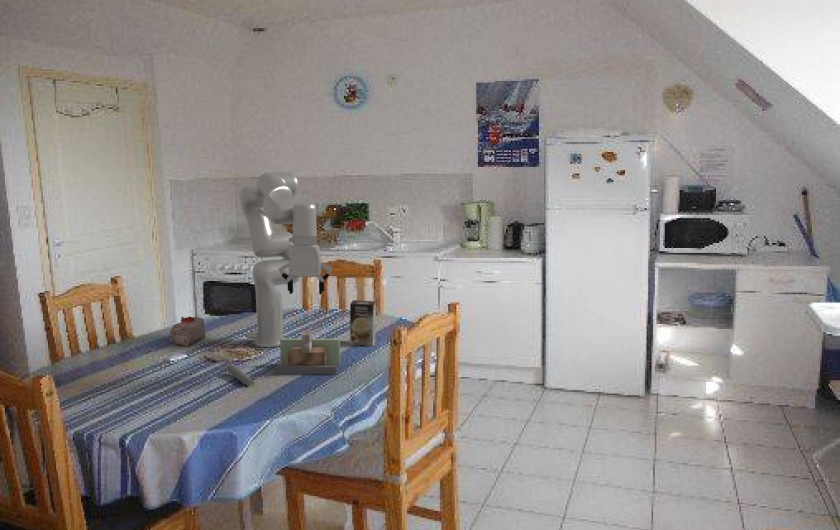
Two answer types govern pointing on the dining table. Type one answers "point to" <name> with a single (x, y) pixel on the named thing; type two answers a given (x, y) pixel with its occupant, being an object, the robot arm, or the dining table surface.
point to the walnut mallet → (307, 353)
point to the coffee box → (362, 323)
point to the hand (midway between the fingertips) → (306, 293)
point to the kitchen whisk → (234, 371)
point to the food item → (188, 331)
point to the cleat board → (332, 359)
